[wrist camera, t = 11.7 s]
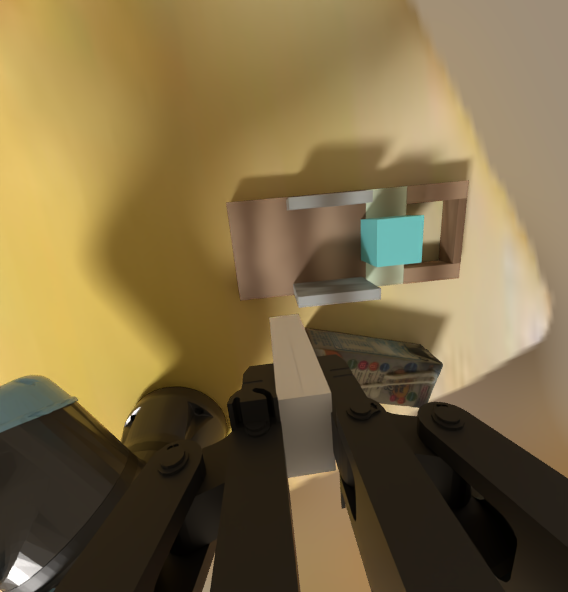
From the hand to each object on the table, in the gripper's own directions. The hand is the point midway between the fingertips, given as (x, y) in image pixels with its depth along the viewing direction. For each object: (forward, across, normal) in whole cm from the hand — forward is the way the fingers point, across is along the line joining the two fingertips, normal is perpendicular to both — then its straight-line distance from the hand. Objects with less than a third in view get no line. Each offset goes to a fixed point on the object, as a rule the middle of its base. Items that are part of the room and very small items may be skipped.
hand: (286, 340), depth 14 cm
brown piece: (+23, +10, +2) cm, 25 cm away
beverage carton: (+24, +12, -16) cm, 31 cm away
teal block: (+20, +14, +3) cm, 25 cm away
